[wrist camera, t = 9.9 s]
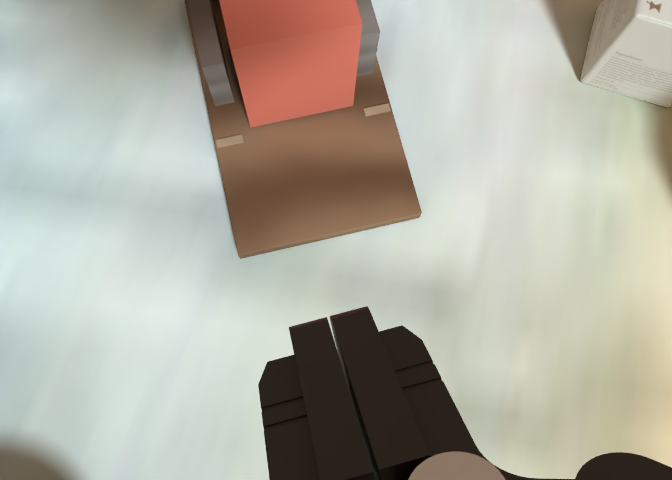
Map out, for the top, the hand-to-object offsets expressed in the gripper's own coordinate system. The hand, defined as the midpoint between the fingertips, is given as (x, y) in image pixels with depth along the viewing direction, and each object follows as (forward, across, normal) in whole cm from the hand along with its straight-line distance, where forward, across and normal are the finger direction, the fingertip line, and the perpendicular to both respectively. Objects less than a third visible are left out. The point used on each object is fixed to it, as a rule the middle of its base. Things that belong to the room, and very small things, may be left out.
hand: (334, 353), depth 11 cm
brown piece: (+29, -2, +4) cm, 29 cm away
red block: (+29, -2, +2) cm, 29 cm away
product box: (+28, -24, +6) cm, 38 cm away
